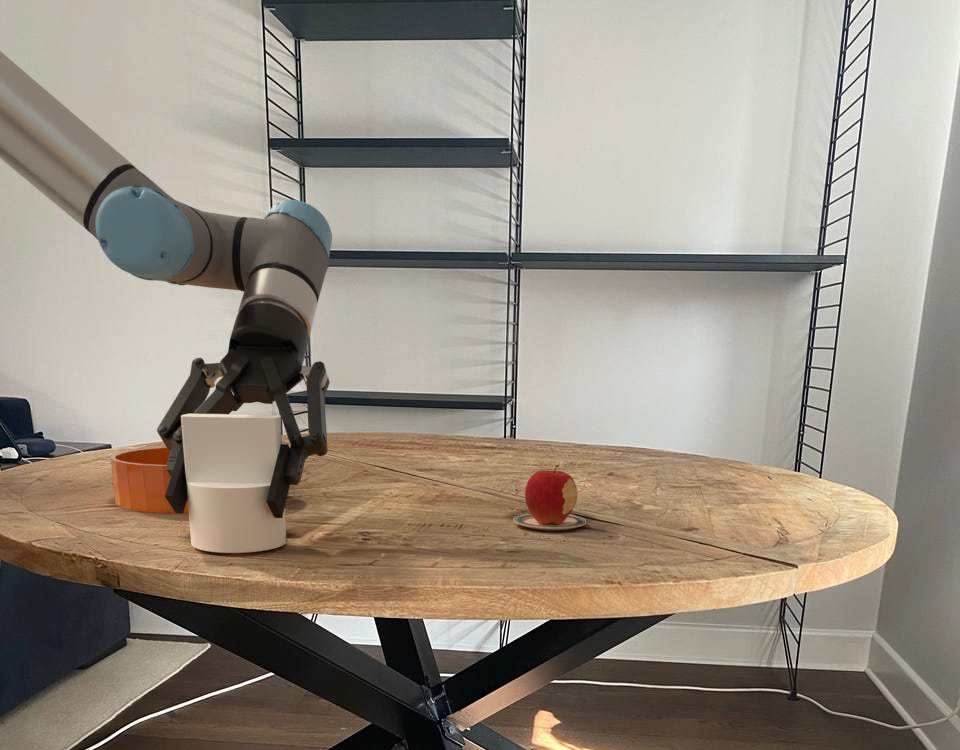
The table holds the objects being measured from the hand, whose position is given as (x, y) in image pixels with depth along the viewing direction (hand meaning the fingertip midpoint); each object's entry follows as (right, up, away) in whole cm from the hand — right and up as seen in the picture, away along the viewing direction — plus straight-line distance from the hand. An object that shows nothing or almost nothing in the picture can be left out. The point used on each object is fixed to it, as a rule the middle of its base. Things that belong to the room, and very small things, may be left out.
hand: (223, 507), depth 84 cm
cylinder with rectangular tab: (0, -3, +4) cm, 5 cm away
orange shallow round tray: (-10, +4, +24) cm, 26 cm away
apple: (+31, 0, +16) cm, 35 cm away
